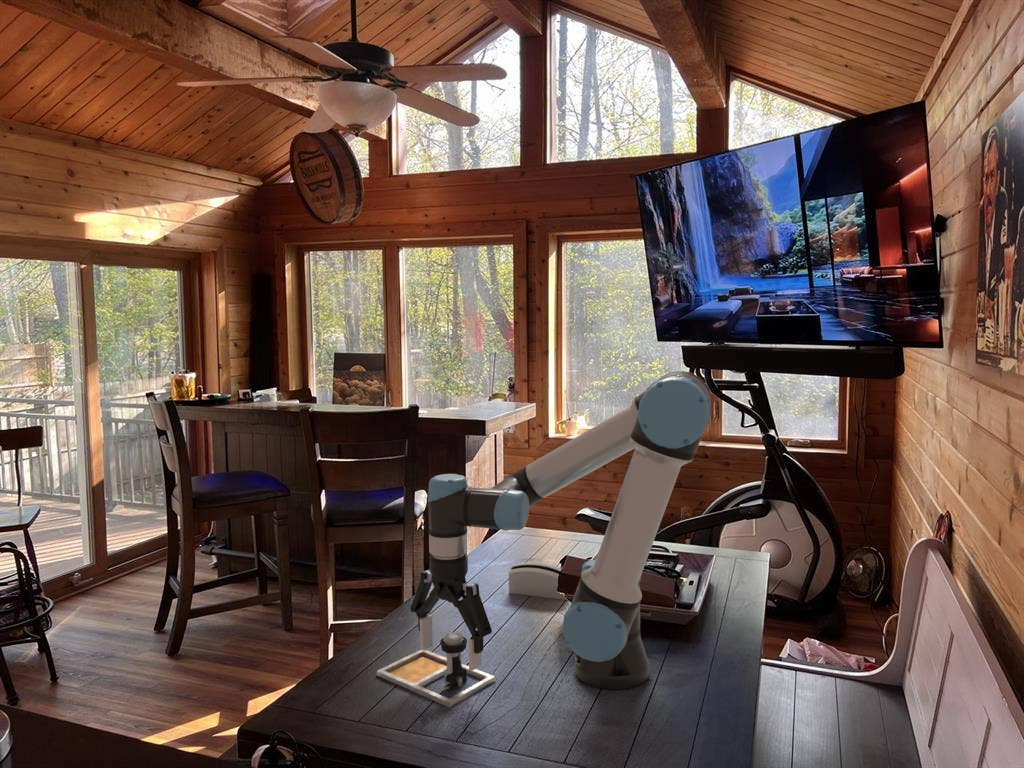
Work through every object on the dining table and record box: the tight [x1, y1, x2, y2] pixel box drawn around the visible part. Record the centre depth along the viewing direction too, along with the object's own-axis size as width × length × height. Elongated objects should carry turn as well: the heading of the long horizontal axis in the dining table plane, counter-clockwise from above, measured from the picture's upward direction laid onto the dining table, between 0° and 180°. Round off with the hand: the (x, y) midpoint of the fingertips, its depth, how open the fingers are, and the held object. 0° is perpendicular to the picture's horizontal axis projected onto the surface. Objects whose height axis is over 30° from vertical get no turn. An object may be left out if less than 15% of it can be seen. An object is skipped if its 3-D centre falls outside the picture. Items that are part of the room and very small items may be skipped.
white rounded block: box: [508, 561, 569, 601], centre depth 200 cm, size 17×5×10 cm, turn 69°
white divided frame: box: [376, 649, 496, 708], centre depth 156 cm, size 21×13×1 cm, turn 50°
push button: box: [439, 632, 468, 691], centre depth 152 cm, size 7×5×10 cm
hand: (450, 657), depth 152 cm, fingers open, 13 cm apart
